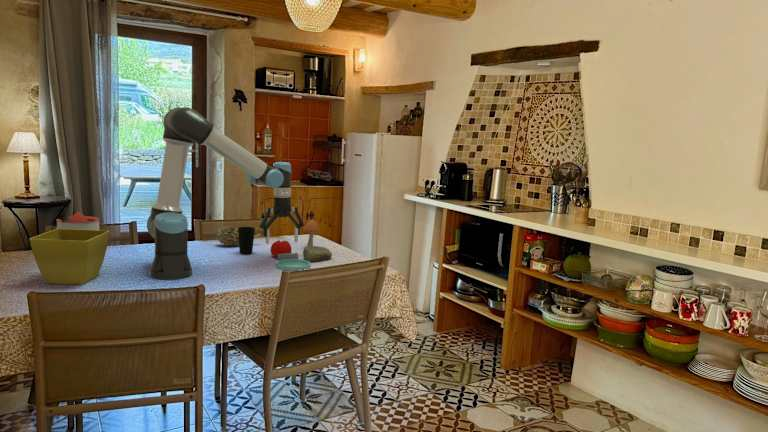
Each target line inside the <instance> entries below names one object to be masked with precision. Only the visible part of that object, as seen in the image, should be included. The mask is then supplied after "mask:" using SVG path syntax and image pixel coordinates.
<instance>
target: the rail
mask: <svg viewBox="0 0 768 432" xmlns="http://www.w3.org/2000/svg"><path fill="white" fill-rule="evenodd" d="M284 259H299V253H298V252H291V253H288V254H278V258H277V261H280V260H284Z"/></svg>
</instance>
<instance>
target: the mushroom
mask: <svg viewBox="0 0 768 432" xmlns="http://www.w3.org/2000/svg"><path fill="white" fill-rule="evenodd" d="M303 230H304V231H306V232H309V235H308V241H307V245H306V246H314V234H315V232H319V231H320V226H319V224H318V223H317V222H316V221H315V220H314V219H310V220H309V221H307V222H306V224H304V226H303Z"/></svg>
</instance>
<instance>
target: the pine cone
mask: <svg viewBox="0 0 768 432" xmlns="http://www.w3.org/2000/svg"><path fill="white" fill-rule="evenodd" d="M238 228H239V227H236V228H235V227H233V226H231V225H230V226H229V225H228V226H222V227H219V228H218V230H216V237H215V239H216V240H217V241H218V242H219V243H221V244H223V245H224V246H230V247H231V246H233V247H234V246H237V247H239V236H238ZM257 238H261V233H260V232H259V233H257V234H254V239H257Z"/></svg>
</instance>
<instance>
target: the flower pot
mask: <svg viewBox="0 0 768 432" xmlns="http://www.w3.org/2000/svg"><path fill="white" fill-rule="evenodd" d="M109 237H110V231H109V230H100V229H99V230H81V229H56V228H55V229H52V230H50V231H47V232H44V233H41V234H39V235H36V236H32V237H30V238H29V243H30V248H31V251H32V253H33V257H34V260H35V262H36V265H37V268H38V270H39V272H40V274H41V276H42V277H43V278H42V279H43V280H44V282H45V283H46V284H54V285H64V284H65V285H84V284H86V283H88V282H89V281H91V280H93V279H94V278H96V277H98V276H99V274H100V271H101V269H102V266H103V263H104V259H105V257H106V252H107V249H108V244H109Z"/></svg>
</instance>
